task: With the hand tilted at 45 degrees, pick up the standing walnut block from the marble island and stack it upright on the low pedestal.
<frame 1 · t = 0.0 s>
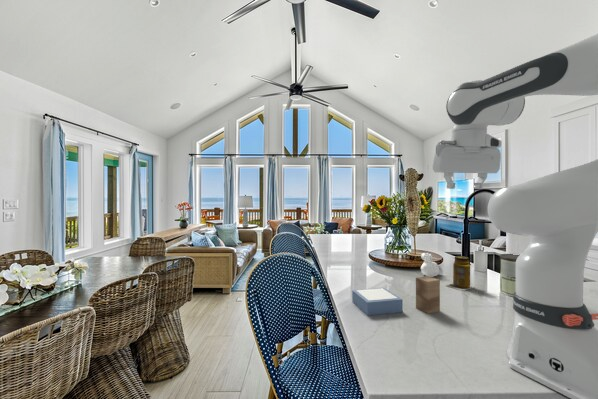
hand: (464, 188, 84), 39 cm above the kitchen island, tool pointing down, fingers open, 8 cm apart
coffee can: (516, 294, 106), on the kitchen island
condiment: (460, 287, 115), on the kitchen island
pedestal: (376, 306, 95), on the kitchen island
white rounded piece: (428, 275, 133), on the kitchen island
walnut block: (427, 309, 92), on the kitchen island
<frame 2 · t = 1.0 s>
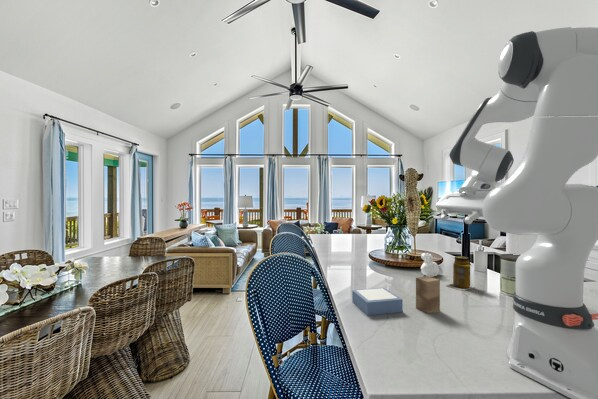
hand: (453, 221, 97), 28 cm above the kitchen island, tool tilted 45°, fingers open, 8 cm apart
nothing on the kitchen island moved.
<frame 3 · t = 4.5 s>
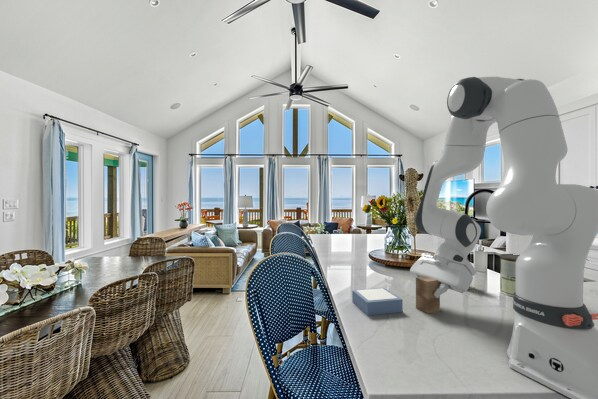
hand: (426, 293, 92), 5 cm above the kitchen island, tool tilted 45°, fingers closed on walnut block, 5 cm apart
walnut block: (427, 309, 92), on the kitchen island, touching gripper
everything else where it was.
when the fingers open (11 cm above the kitchen island, at t = 10.4 s): walnut block drops 1 cm, resting on pedestal.
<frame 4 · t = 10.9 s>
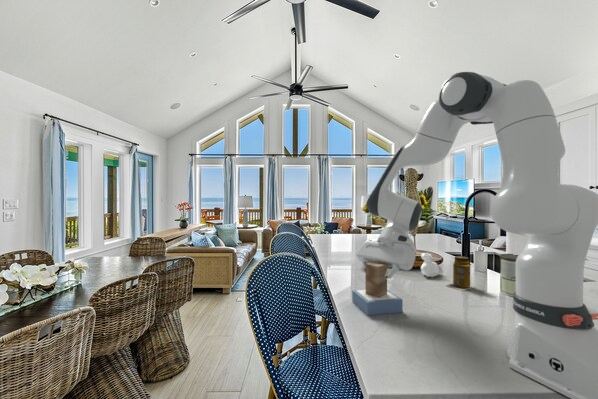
hand: (375, 274, 94), 11 cm above the kitchen island, tool tilted 45°, fingers open, 8 cm apart
walnut block: (376, 294, 95), point 4 cm above the kitchen island, touching pedestal
everything else where it was.
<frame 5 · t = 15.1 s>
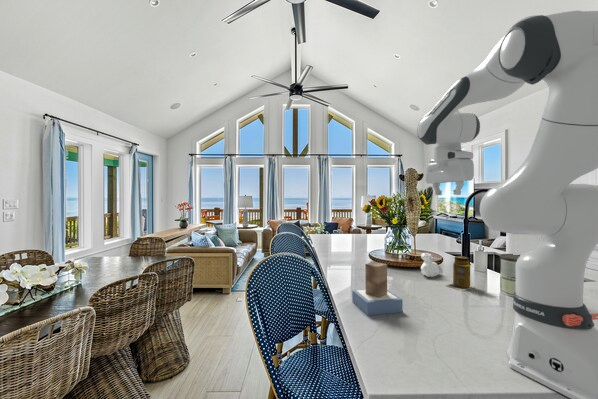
hand: (447, 195, 102), 37 cm above the kitchen island, tool pointing down, fingers open, 8 cm apart
nothing on the kitchen island moved.
at the end: walnut block inside the target area on the pedestal (0.1 cm from its centre), point 4.1 cm above the pedestal's base; walnut block tilted 0°; the gripper is holding nothing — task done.
